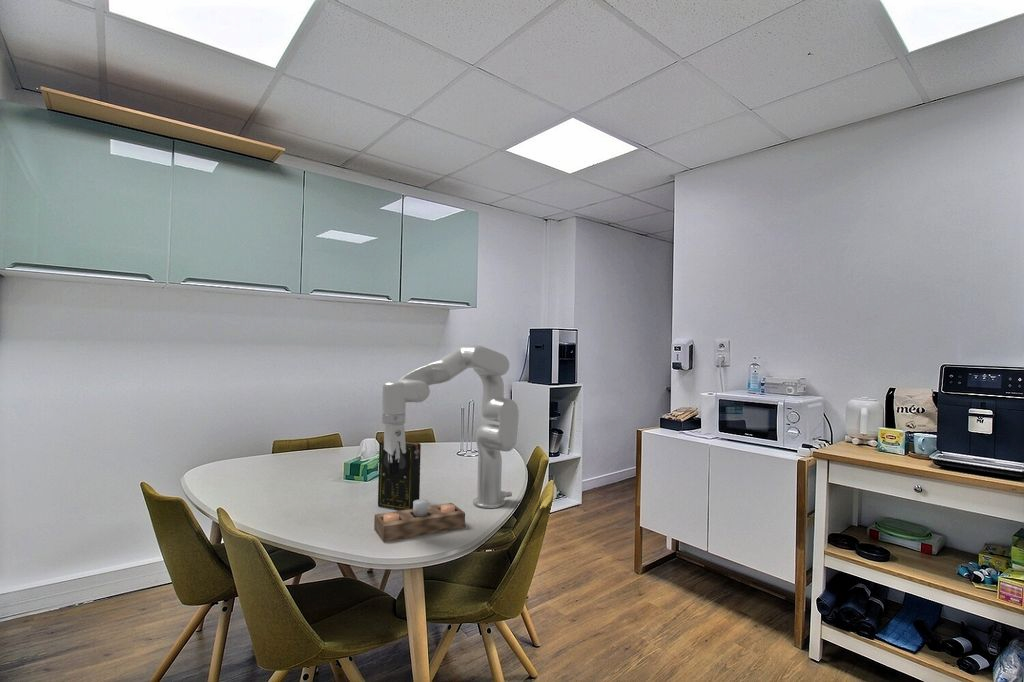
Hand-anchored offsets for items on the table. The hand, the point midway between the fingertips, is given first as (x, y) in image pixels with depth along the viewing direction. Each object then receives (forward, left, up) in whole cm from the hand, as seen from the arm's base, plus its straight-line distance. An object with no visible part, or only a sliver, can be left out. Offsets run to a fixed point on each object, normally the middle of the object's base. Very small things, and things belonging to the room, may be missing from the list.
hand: (393, 474), depth 157 cm
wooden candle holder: (-10, 0, -20) cm, 22 cm away
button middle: (-10, 0, -15) cm, 18 cm away
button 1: (0, 0, -19) cm, 19 cm away
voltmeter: (-10, -25, -20) cm, 33 cm away
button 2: (-20, 0, -19) cm, 27 cm away
